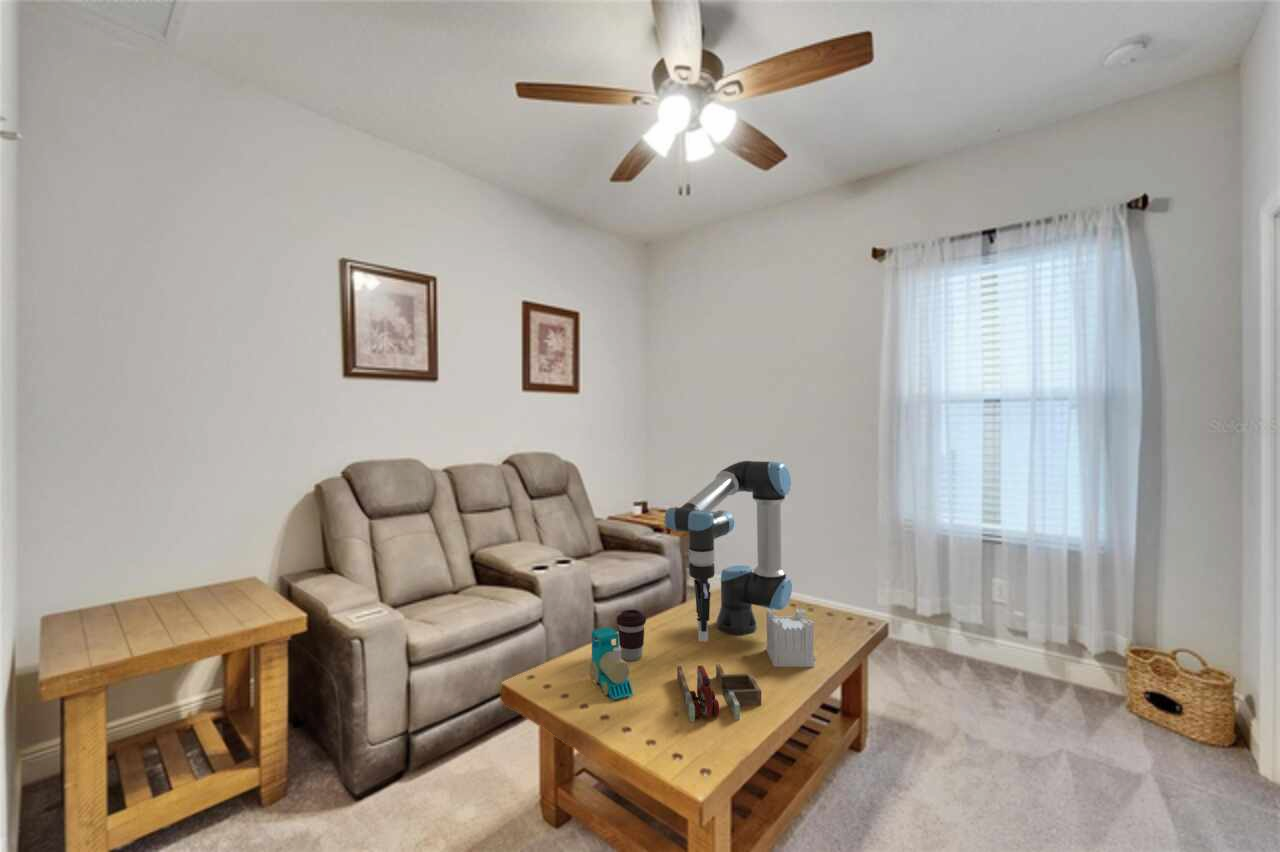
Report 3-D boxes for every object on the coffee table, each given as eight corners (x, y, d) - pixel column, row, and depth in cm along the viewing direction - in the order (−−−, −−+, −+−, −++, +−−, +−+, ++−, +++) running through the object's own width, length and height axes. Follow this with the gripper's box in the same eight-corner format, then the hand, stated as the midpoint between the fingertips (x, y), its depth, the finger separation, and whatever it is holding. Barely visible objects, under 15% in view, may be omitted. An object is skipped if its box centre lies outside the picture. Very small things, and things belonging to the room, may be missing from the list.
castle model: (766, 649, 189) (766, 608, 189) (809, 650, 189) (809, 609, 188) (774, 666, 176) (774, 623, 176) (820, 667, 176) (820, 623, 176)
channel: (677, 678, 168) (677, 666, 168) (719, 677, 169) (719, 664, 169) (690, 722, 144) (690, 707, 144) (739, 719, 145) (739, 704, 145)
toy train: (610, 703, 154) (610, 651, 154) (589, 678, 169) (589, 630, 169) (635, 697, 158) (635, 646, 158) (612, 673, 173) (612, 626, 173)
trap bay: (721, 688, 163) (720, 674, 162) (751, 686, 163) (751, 673, 163) (729, 706, 152) (729, 692, 152) (761, 704, 153) (761, 690, 153)
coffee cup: (652, 656, 185) (651, 612, 184) (631, 666, 177) (631, 620, 177) (631, 647, 191) (630, 605, 191) (610, 657, 184) (610, 613, 184)
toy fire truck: (696, 724, 144) (695, 685, 144) (687, 699, 156) (687, 664, 156) (721, 722, 144) (721, 683, 144) (711, 698, 157) (711, 662, 157)
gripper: (685, 557, 168) (687, 631, 169) (693, 570, 155) (694, 650, 156) (709, 556, 169) (711, 630, 170) (718, 568, 156) (720, 649, 157)
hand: (703, 640), depth 163 cm, fingers closed
